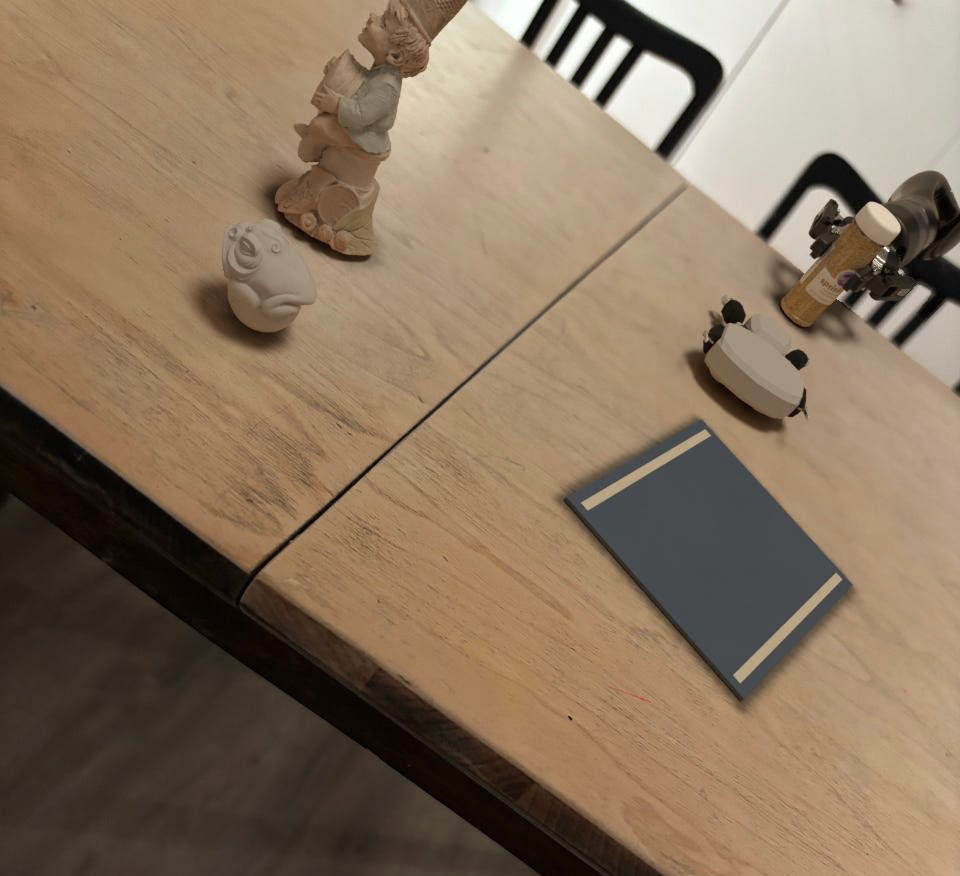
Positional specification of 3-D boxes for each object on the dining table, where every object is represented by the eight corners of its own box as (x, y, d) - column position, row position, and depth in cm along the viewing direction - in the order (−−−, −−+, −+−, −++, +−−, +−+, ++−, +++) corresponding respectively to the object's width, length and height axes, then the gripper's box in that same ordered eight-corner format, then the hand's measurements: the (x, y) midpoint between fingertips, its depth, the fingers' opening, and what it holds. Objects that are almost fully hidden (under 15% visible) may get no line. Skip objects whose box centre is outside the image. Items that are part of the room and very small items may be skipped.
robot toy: (702, 312, 102) (678, 372, 91) (731, 277, 99) (709, 335, 88) (794, 382, 103) (780, 450, 93) (825, 350, 100) (815, 416, 90)
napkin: (698, 421, 89) (701, 418, 89) (849, 587, 87) (853, 584, 86) (563, 499, 74) (566, 496, 74) (740, 701, 72) (744, 698, 72)
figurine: (378, 214, 82) (489, -24, 67) (370, 275, 77) (487, 33, 63) (276, 166, 79) (369, -95, 64) (260, 227, 74) (357, -41, 59)
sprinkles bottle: (792, 327, 108) (885, 228, 98) (772, 297, 109) (861, 196, 99) (817, 329, 111) (910, 233, 101) (797, 299, 112) (886, 202, 102)
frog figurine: (227, 270, 70) (255, 188, 65) (312, 326, 71) (346, 249, 66) (185, 310, 66) (211, 226, 61) (276, 369, 67) (309, 291, 62)
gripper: (867, 167, 112) (811, 188, 101) (956, 255, 111) (910, 286, 99) (820, 221, 117) (763, 247, 106) (905, 305, 116) (855, 340, 105)
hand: (834, 266), depth 103 cm, fingers closed on sprinkles bottle, 4 cm apart
